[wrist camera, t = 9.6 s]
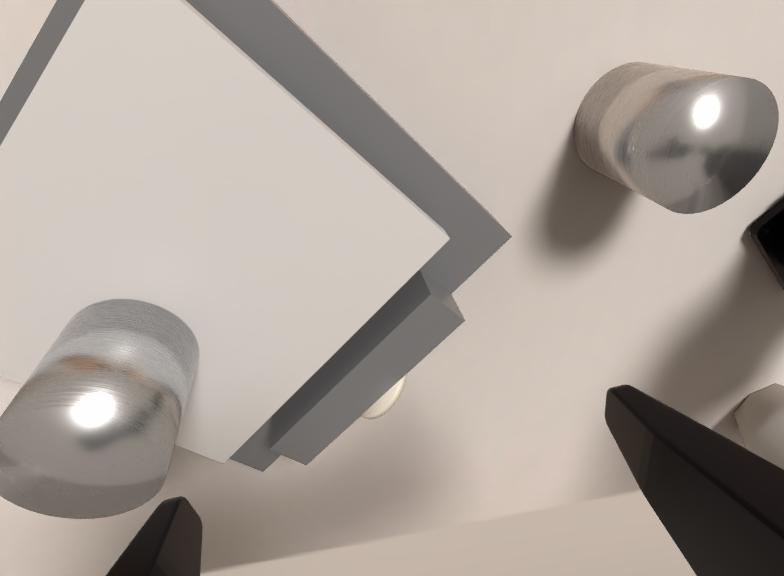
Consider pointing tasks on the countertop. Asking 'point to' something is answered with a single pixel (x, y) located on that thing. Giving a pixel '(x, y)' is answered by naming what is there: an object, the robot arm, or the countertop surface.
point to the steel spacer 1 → (99, 413)
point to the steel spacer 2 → (676, 133)
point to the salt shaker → (763, 423)
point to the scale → (228, 216)
